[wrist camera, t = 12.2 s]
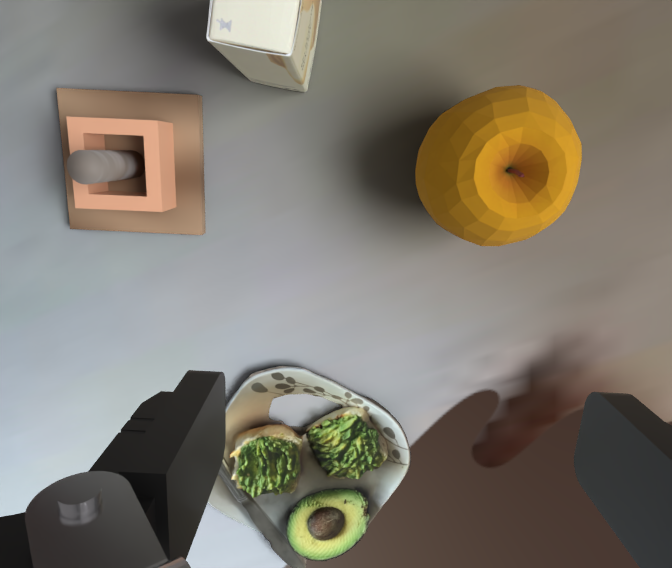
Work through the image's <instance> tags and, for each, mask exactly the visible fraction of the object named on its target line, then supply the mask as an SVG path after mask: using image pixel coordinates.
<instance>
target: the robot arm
mask: <svg viewBox="0 0 672 568" xmlns="http://www.w3.org/2000/svg"><path fill="white" fill-rule="evenodd" d="M225 441H226V402H225V376H224V373H223V372H212V371H193V370H189V371H188V372H187V373H186V374H185V376H184V377H183V379H182V380H181V381H180V383H179V384H178V386H177V387H176V389H175V390H174V392H163V391H161V392H159V393H158V394H156V395H154V396H153V397H151V398H149V399H148V400H146V401H144V402H143V403H142V404H141V405H140V406H139V407H138V409H137V410H136V411H135V413H134V414H133V415H132V416H131V419H130V420H128V421H127V423H126V424H125V425H124V427H123V428H122V429H121V433H118V434H117V435H116V437H115V438H114V439H113V441H112V442H111V443H110V444H109V446H108V447H107V448H106V449H105V451H104V452H103V453H102V455H101V456H100V457H99V458H98V460H97V461H96V462H95V463H94V465H93V466H92V467H91V469H90V470H89V471H88V472H84V473H79V474H75V475H71V476H69V477H66V478H63V479H61V480H59V481H57V482H55V483H53V484H51V485H49V486H48V487H46V488H45V489H43V490H42V491H41V492H40V493H38V494H37V495H36V496H35V497H34V498H33V500H32V501H31V502H30V503H29V505H28V507H27V509H26V512H24V513H20V514H15V515H9V516H4V517H0V568H191V567H190V566H189V564H188V562H187V561H186V558H187V555H188V553H189V550H190V547H191V545H192V542H193V539H194V537H195V534H196V531H197V529H198V526H199V523H200V521H201V518H202V515H203V513H204V510H205V507H206V505H207V502H208V499H209V497H210V494H211V491H212V489H213V486H214V484H215V481H216V478H217V476H218V473H219V470H220V468H221V465H222V461H223V456H224V451H225ZM574 467H575V473H576V476H577V479H578V481H579V483H580V485H581V486H582V488H583V489H584V491H585V492H586V493H587V495H588V496H589V497H590V499H591V500H592V502H593V503H594V505H595V506H596V507H597V509H598V510H599V512H600V513H601V514H602V516H603V517H604V518H605V520H606V521H607V523H608V524H609V525H610V527H611V528H612V530H613V531H614V532H615V533H616V535H617V537H618V538H619V539H620V540H621V542H622V543H623V545H624V546H625V548H626V549H627V550H628V552H629V553H630V555H631V556H632V557H633V559H634V560H635V561H636V563H637V564H638V566H639V567H640V568H672V426H671V425H670V424H668V423H666V422H664V421H663V420H661V419H660V418H659V417H658V416H657V415H656V414H654V413H653V412H652V411H651V410H650V409H648V408H647V407H646V406H645V405H644V404H642V403H641V402H640V401H639V400H638V399H636V398H635V397H634V396H632V395H631V394H623V393H604V392H592V393H591V394H590V395H589V396H588V397H587V399H586V402H585V406H584V411H583V416H582V420H581V425H580V430H579V435H578V440H577V444H576V449H575V455H574Z"/></svg>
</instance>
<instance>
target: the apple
mask: <svg viewBox="0 0 672 568" xmlns="http://www.w3.org/2000/svg"><path fill="white" fill-rule="evenodd" d="M581 160H582V152H581V142H580V140H579V138H578V135H577V133H576V131H575V129H574V127H573V124H572V122H571V120H570V119H569V117H568V116H567V115H566V114H565V112H564V111H563V110H562V109H561V107H560V106H559V105H558V104H557V103H556V101H554V100H553V99H551V98H550V97H549V96H547V95H546V94H545V93H543V92H541V91H539V90H536V89H533V88H529V87H525V86H520V85H517V86H504V87H495V88H493V89H490V90H488V91H485V92H482V93H480V94H477V95H475V96H472V97H470V98H467V99H465V100H463V101H461V102H460V103H458V104H457V105H455V106H454V107H452V108H450V109H449V110H447V111H446V112H444V113H442V114H441V115H440V116H439V117H438V118H437V120H436V121H435V122H434V123H433V124H432V126H431V127H430V128H429V130H428V132H427V134H426V136H425V138H424V140H423V142H422V144H421V146H420V148H419V152H418V158H417V163H416V169H415V177H416V187H417V190H418V194H419V198H420V200H421V201H422V203H423V205H424V207H425V208H426V210H427V212H428V213H429V214H430V216H431V217H432V218H433V220H434V221H435V222H436V223H437V224H438V225H439V226H441V227H442V228H444V229H445V230H447V231H449V232H450V233H452V234H454V235H456V236H458V237H460V238H462V239H464V240H467V241H469V242H472V243H475V244H477V245H480V246H501V245H505V244H509V243H514V242H518V241H522V240H526V239H528V238H530V237H532V236H534V235H536V234H537V233H539V232H540V231H541V230H543V229H544V228H546V227H547V226H549V225H550V224H552V223H553V222H554V221H555V220H556V219H557V218H558V217H559V216H560V215H561V214H562V213H563V212H564V211H565V209H566V207H567V206H568V204H569V202H570V200H571V198H572V195H573V193H574V190H575V188H576V185H577V182H578V177H579V171H580V166H581Z"/></svg>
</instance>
